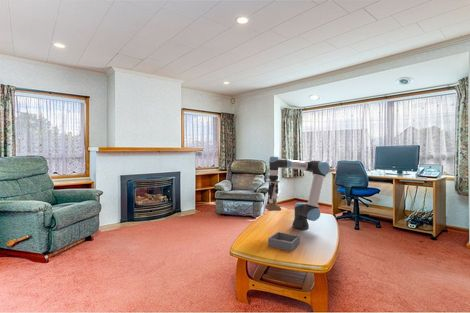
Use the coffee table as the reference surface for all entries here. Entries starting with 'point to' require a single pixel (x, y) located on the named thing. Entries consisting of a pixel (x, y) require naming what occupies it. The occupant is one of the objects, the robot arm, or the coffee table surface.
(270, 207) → the candle holder
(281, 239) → the walled bin
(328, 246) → the coffee table surface
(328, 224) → the coffee table surface
